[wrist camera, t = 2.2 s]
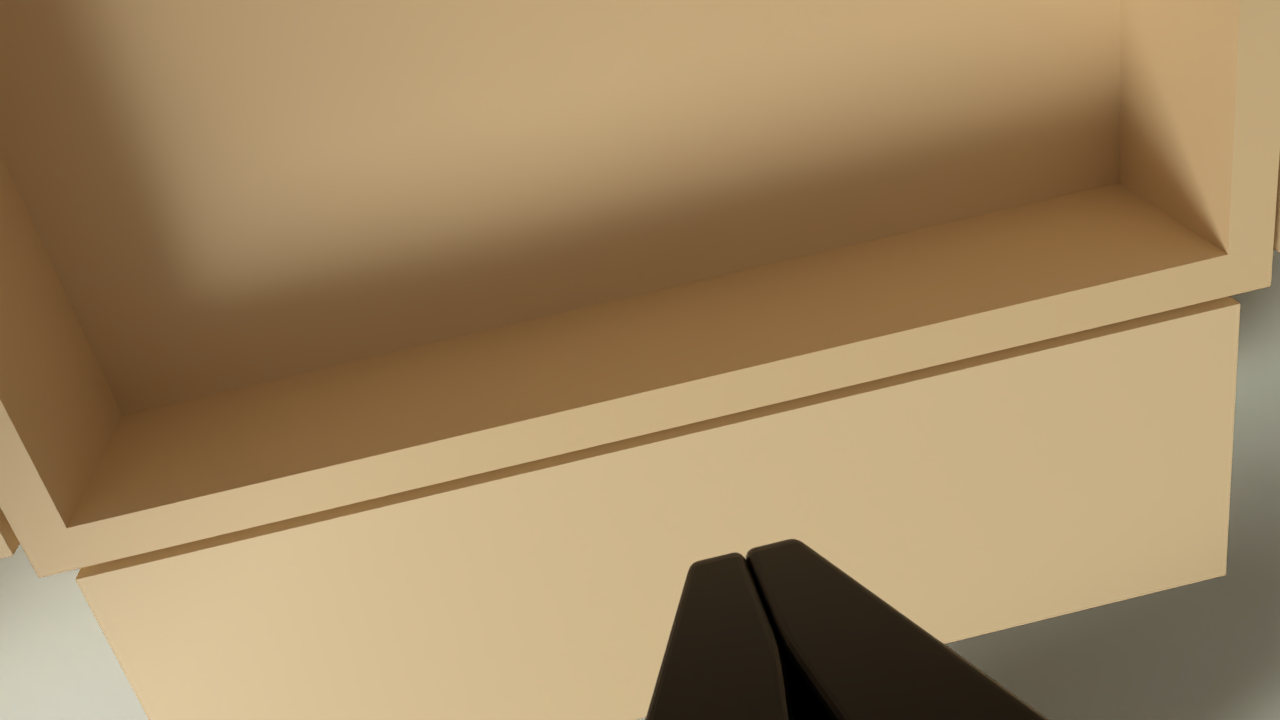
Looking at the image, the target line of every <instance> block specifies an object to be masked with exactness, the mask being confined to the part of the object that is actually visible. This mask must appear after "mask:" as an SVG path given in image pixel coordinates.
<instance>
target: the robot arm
mask: <svg viewBox="0 0 1280 720" xmlns="http://www.w3.org/2000/svg"><path fill="white" fill-rule="evenodd" d="M645 720H1049V719H1047V718H1046V717H1045V716H1043V715H1042V714H1040V713H1039V712H1038V711H1036V710H1035V709H1034V708H1032V707H1031V706H1029V705H1028V704H1027V703H1025V702H1024V701H1022V700H1021V699H1020V698H1018V697H1017V696H1015V695H1014V694H1013V693H1011V692H1010V691H1009V690H1007V689H1006V688H1004V687H1003V686H1002V685H1000V684H999V683H997V682H996V681H995V680H993V679H992V678H990V677H989V676H988V675H986V674H985V673H984V672H982V671H981V670H979V669H978V668H977V667H975V666H974V665H972V664H971V663H970V662H968V661H967V660H965V659H964V658H963V657H961V656H960V655H959V654H957V653H956V652H954V651H953V650H952V649H950V648H949V647H947V646H946V645H945V644H943V643H942V642H940V641H939V640H938V639H936V638H935V637H934V636H932V635H931V634H929V633H928V632H927V631H925V630H924V629H922V628H921V627H920V626H918V625H917V624H915V623H914V622H913V621H911V620H910V619H909V618H907V617H906V616H904V615H903V614H902V613H900V612H899V611H897V610H896V609H895V608H893V607H892V606H890V605H889V604H888V603H886V602H885V601H884V600H882V599H881V598H879V597H878V596H877V595H875V594H874V593H872V592H871V591H870V590H868V589H867V588H865V587H864V586H863V585H861V584H860V583H859V582H857V581H856V580H854V579H853V578H852V577H850V576H849V575H847V574H846V573H845V572H843V571H842V570H841V569H839V568H838V567H836V566H835V565H834V564H832V563H831V562H829V561H828V560H827V559H825V558H824V557H822V556H821V555H820V554H818V553H817V552H816V551H814V550H813V549H811V548H810V547H809V546H807V545H806V544H804V543H803V542H801V541H800V540H796V539H788V540H784V541H779V542H775V543H771V544H767V545H763V546H758V547H754V548H752V549H750V550H749V551H748V552H747V554H746V559H745V557H744V556H743V555H742V554H740V553H737V552H734V553H729V554H725V555H721V556H716V557H712V558H708V559H704V560H700V561H696V562H694V563H693V564H692V565H691V566H690V568H689V570H688V573H687V576H686V580H685V583H684V587H683V590H682V594H681V597H680V600H679V604H678V607H677V611H676V614H675V618H674V621H673V625H672V628H671V632H670V635H669V639H668V642H667V646H666V649H665V653H664V656H663V660H662V663H661V667H660V670H659V674H658V677H657V680H656V684H655V687H654V691H653V694H652V698H651V701H650V705H649V708H648V712H647V715H646V719H645Z"/></svg>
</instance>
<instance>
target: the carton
mask: <svg viewBox="0 0 1280 720" xmlns="http://www.w3.org/2000/svg"><path fill="white" fill-rule="evenodd" d="M1273 249H1274V250H1276V251H1278V252H1279V253H1280V0H0V558H5V557H9V556H13V555H14V553H15V551H16V549H17V547H18V545H19V543H20V544H21V546H22V548H23V550H24V552H25V554H26V555H27V557H28V559H29V561H30V563H31V565H32V566H33V568H34V570H35V572H36V574H37V576H38V577H39V578H41V577H45V576H49V575H54V574H58V573H62V572H66V571H71V570H75V569H79V568H81V569H80V571H79V573H78V575H77V578H76V582H77V584H78V586H79V587H80V589H81V591H82V593H83V595H84V597H85V599H86V601H87V603H88V605H89V606H90V608H91V610H92V612H93V614H94V616H95V618H96V620H97V622H98V624H99V626H100V627H101V629H102V631H103V633H104V635H105V637H106V639H107V641H108V643H109V645H110V646H111V648H112V650H113V652H114V654H115V656H116V658H117V660H118V662H119V664H120V666H121V667H122V669H123V671H124V673H125V675H126V677H127V679H128V681H129V683H130V685H131V686H132V688H133V690H134V692H135V694H136V696H137V698H138V700H139V702H140V704H141V706H142V707H143V709H144V711H145V713H146V715H147V717H148V719H149V720H635V719H639V718H644V717H646V715H647V712H648V708H649V705H650V701H651V698H652V694H653V691H654V687H655V684H656V680H657V677H658V674H659V670H660V667H661V663H662V660H663V656H664V653H665V649H666V646H667V642H668V639H669V635H670V632H671V628H672V625H673V621H674V618H675V614H676V611H677V607H678V604H679V600H680V597H681V594H682V590H683V587H684V583H685V580H686V576H687V573H688V570H689V568H690V566H691V565H692V564H693V563H694V562H696V561H700V560H704V559H708V558H712V557H716V556H721V555H725V554H729V553H734V552H737V553H740V554H742V555H743V556H744V557H745V559H746V554H747V552H748V551H749V550H750V549H752V548H754V547H758V546H763V545H767V544H771V543H775V542H779V541H784V540H788V539H796V540H800V541H801V542H803V543H804V544H806V545H807V546H809V547H810V548H811V549H813V550H814V551H816V552H817V553H818V554H820V555H821V556H822V557H824V558H825V559H827V560H828V561H829V562H831V563H832V564H834V565H835V566H836V567H838V568H839V569H841V570H842V571H843V572H845V573H846V574H847V575H849V576H850V577H852V578H853V579H854V580H856V581H857V582H859V583H860V584H861V585H863V586H864V587H865V588H867V589H868V590H870V591H871V592H872V593H874V594H875V595H877V596H878V597H879V598H881V599H882V600H884V601H885V602H886V603H888V604H889V605H890V606H892V607H893V608H895V609H896V610H897V611H899V612H900V613H902V614H903V615H904V616H906V617H907V618H909V619H910V620H911V621H913V622H914V623H915V624H917V625H918V626H920V627H921V628H922V629H924V630H925V631H927V632H928V633H929V634H931V635H932V636H934V637H935V638H936V639H938V640H939V641H940V642H942V643H943V644H946V643H950V642H954V641H959V640H963V639H967V638H971V637H975V636H979V635H983V634H987V633H991V632H995V631H999V630H1004V629H1008V628H1012V627H1016V626H1020V625H1024V624H1028V623H1032V622H1036V621H1040V620H1044V619H1049V618H1053V617H1057V616H1061V615H1065V614H1069V613H1073V612H1077V611H1081V610H1085V609H1089V608H1094V607H1098V606H1102V605H1106V604H1110V603H1114V602H1118V601H1122V600H1126V599H1130V598H1134V597H1139V596H1143V595H1147V594H1151V593H1155V592H1159V591H1163V590H1167V589H1171V588H1175V587H1179V586H1184V585H1188V584H1192V583H1196V582H1200V581H1204V580H1208V579H1212V578H1216V577H1220V576H1224V575H1226V563H1227V545H1228V526H1229V507H1230V489H1231V470H1232V451H1233V433H1234V414H1235V395H1236V377H1237V358H1238V339H1239V321H1240V303H1239V302H1237V301H1236V300H1235V299H1233V298H1232V297H1230V296H1232V295H1236V294H1240V293H1244V292H1249V291H1253V290H1257V289H1261V288H1265V287H1270V286H1271V275H1272V260H1273Z"/></svg>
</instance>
